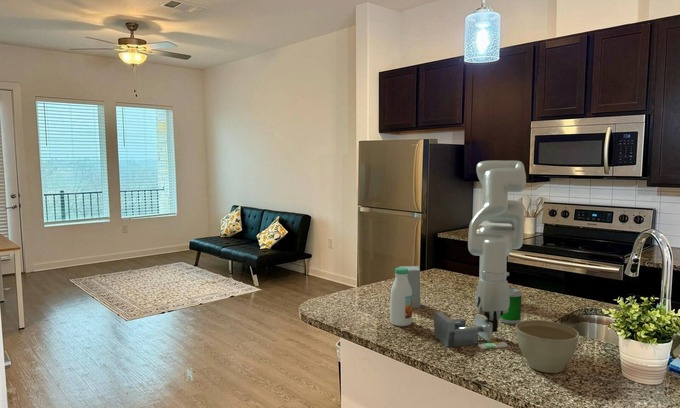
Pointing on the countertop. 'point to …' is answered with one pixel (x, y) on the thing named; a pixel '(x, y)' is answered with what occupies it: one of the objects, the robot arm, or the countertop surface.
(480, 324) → the plunger
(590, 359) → the countertop surface
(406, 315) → the milk bottle
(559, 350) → the planter bowl
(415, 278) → the skincare box
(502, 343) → the strip
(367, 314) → the countertop surface
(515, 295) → the soda can
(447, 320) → the bracket
